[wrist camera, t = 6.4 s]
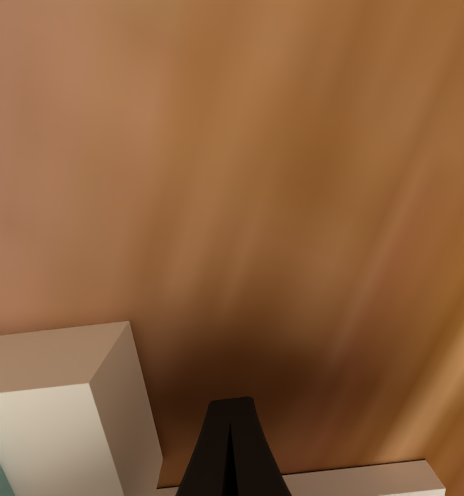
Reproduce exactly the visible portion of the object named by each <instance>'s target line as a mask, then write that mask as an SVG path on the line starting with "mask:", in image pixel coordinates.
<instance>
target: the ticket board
mask: <svg viewBox="0 0 464 496" xmlns="http://www.w3.org/2000/svg"><path fill="white" fill-rule="evenodd" d="M282 477H283V479H284V481H285V483H286V485H287V487H288V489H289V491H290V493H291V495H292V496H445V490H446V488H445V487H444V486H443V484H442V483H441V481H440V480H439V478H438V477H437V475H436V474H435V473H434V471H433V470H432V468H431V467H430V465H429V464H428V463H427V461H426V460H421V461H412V462H403V463H394V464H384V465H375V466H366V467H357V468H348V469H338V470H329V471H320V472H311V473H302V474H292V475H283V476H282ZM178 488H179V487H173V488H163V489H156V493H155V496H175V495H176V493H177V490H178Z"/></svg>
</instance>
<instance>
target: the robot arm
mask: <svg viewBox="0 0 464 496" xmlns="http://www.w3.org/2000/svg"><path fill="white" fill-rule="evenodd" d="M175 496H292V495H291V493H290V491H289V489H288V487H287V485H286V483H285V481H284V479H283V477H282V475H281V473H280V471H279V468H278V466H277V464H276V462H275V459H274V457H273V455H272V453H271V451H270V448H269V446H268V444H267V441H266V439H265V436H264V433H263V431H262V428H261V425H260V423H259V420H258V416H257V413H256V409H255V405H254V400H253V398H251V397H250V396H249V397H241V398H232V399H224V400H215V401H211V402H210V404H209V406H208V410H207V413H206V417H205V420H204V423H203V427H202V430H201V433H200V435H199V438H198V441H197V444H196V447H195V449H194V452H193V454H192V457H191V459H190V462H189V464H188V467H187V469H186V472H185V474H184V477H183V479H182V482H181V484H180V486H179V488H178V490H177V493H176V495H175Z"/></svg>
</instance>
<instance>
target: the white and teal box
mask: <svg viewBox="0 0 464 496" xmlns="http://www.w3.org/2000/svg"><path fill="white" fill-rule="evenodd" d="M162 461H163V457H162V452H161V448H160V444H159V440H158V436H157V432H156V428H155V424H154V420H153V416H152V412H151V407H150V403H149V399H148V395H147V391H146V387H145V383H144V379H143V375H142V371H141V367H140V363H139V358H138V354H137V350H136V346H135V342H134V338H133V334H132V330H131V326H130V322H129V321H123V322H114V323H105V324H97V325H88V326H79V327H70V328H62V329H53V330H44V331H36V332H27V333H18V334H9V335H1V336H0V496H155V493H156V488H157V484H158V479H159V475H160V470H161V466H162Z"/></svg>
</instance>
